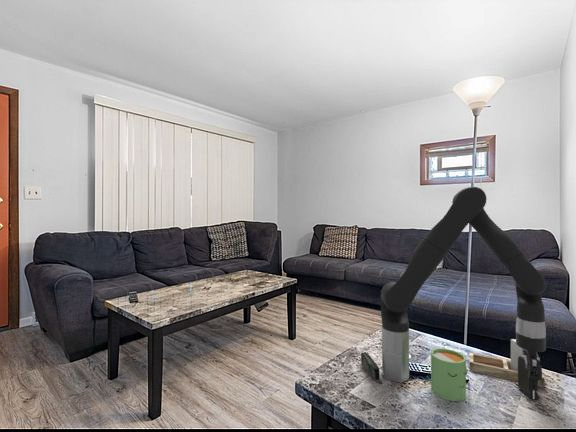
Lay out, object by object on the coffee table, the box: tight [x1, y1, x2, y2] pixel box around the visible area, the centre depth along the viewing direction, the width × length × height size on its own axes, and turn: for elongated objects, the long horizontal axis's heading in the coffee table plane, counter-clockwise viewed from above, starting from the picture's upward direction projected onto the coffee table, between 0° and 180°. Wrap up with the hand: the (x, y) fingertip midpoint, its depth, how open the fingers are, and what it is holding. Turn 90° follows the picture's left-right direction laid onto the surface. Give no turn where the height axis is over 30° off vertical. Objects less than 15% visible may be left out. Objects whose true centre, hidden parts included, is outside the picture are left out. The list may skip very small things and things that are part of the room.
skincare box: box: [510, 338, 523, 371], centre depth 109 cm, size 6×4×12 cm
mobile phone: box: [360, 352, 383, 385], centre depth 111 cm, size 5×3×15 cm
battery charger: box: [517, 356, 543, 400], centre depth 98 cm, size 7×4×11 cm, turn 173°
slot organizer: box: [469, 352, 546, 388], centre depth 112 cm, size 9×22×3 cm, turn 59°
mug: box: [430, 348, 468, 402], centre depth 100 cm, size 13×10×12 cm
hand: (530, 383), depth 98 cm, fingers closed on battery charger, 7 cm apart
